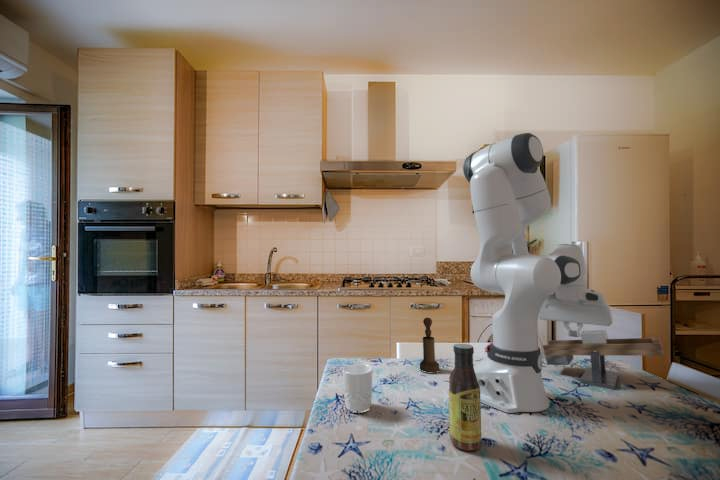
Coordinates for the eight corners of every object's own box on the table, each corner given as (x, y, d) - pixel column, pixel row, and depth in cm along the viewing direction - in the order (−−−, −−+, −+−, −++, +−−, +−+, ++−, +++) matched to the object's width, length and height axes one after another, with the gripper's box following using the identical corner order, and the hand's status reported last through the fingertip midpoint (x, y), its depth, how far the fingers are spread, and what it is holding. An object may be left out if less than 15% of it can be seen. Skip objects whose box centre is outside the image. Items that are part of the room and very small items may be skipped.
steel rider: (584, 349, 96) (580, 334, 97) (587, 345, 100) (583, 330, 101) (608, 349, 92) (603, 333, 93) (610, 344, 96) (605, 330, 97)
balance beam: (547, 365, 101) (541, 343, 102) (553, 357, 108) (548, 337, 110) (668, 367, 82) (659, 340, 83) (666, 358, 89) (658, 333, 91)
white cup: (377, 404, 83) (376, 365, 83) (366, 417, 75) (364, 375, 76) (351, 399, 86) (350, 362, 87) (337, 412, 79) (337, 371, 80)
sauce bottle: (464, 456, 60) (459, 351, 61) (443, 439, 65) (439, 344, 67) (490, 447, 62) (484, 347, 64) (467, 432, 68) (463, 340, 69)
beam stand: (580, 382, 93) (578, 350, 94) (587, 370, 103) (585, 341, 104) (614, 389, 88) (611, 355, 88) (618, 375, 98) (615, 345, 99)
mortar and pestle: (442, 369, 108) (439, 316, 109) (435, 375, 102) (433, 320, 104) (423, 366, 111) (422, 315, 113) (417, 371, 106) (415, 318, 107)
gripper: (533, 292, 106) (535, 333, 105) (609, 296, 92) (613, 343, 91) (537, 291, 111) (540, 330, 110) (610, 294, 97) (614, 339, 96)
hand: (574, 336), depth 100 cm, fingers closed
